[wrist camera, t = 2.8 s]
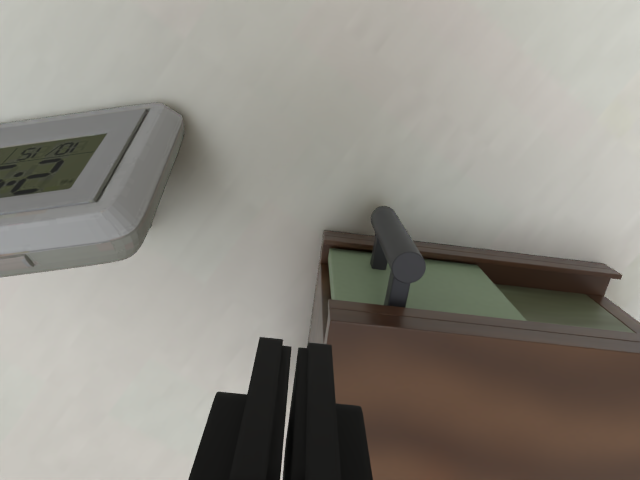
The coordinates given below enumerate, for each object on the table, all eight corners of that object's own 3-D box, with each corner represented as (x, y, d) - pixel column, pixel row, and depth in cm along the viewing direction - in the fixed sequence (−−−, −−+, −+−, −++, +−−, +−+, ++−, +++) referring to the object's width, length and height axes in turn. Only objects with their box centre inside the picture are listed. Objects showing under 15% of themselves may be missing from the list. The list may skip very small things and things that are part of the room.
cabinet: (323, 229, 28) (330, 320, 17) (604, 263, 29) (770, 367, 18) (301, 388, 31) (295, 540, 21) (548, 413, 32) (659, 569, 22)
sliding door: (337, 194, 25) (348, 246, 18) (491, 213, 26) (569, 272, 18) (327, 259, 27) (333, 334, 19) (474, 276, 27) (540, 357, 19)
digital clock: (200, 104, 25) (123, 120, 15) (202, 255, 28) (140, 353, 18) (-102, 82, 24) (-393, 84, 14) (-66, 239, 27) (-285, 331, 17)
